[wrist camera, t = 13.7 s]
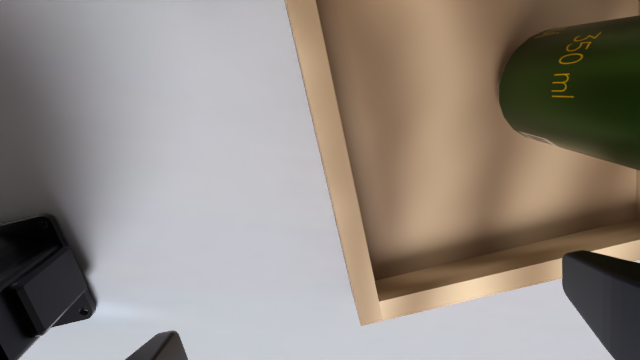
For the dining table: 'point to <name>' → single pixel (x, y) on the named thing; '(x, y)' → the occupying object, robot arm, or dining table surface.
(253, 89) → the dining table surface
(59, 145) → the dining table surface
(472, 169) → the wooden tray
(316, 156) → the dining table surface
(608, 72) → the beer can
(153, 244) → the dining table surface
